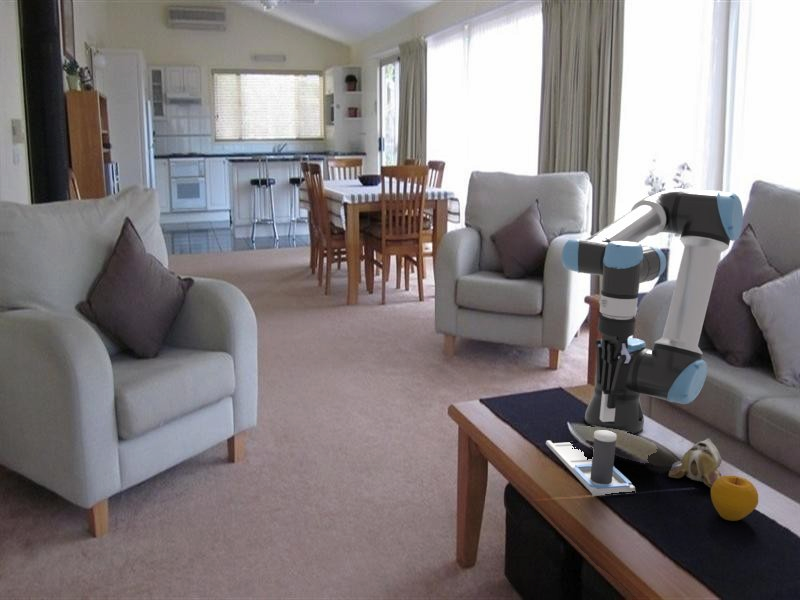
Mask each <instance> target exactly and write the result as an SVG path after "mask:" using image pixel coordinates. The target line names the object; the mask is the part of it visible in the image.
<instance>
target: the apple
mask: <svg viewBox="0 0 800 600" xmlns="http://www.w3.org/2000/svg"><path fill="white" fill-rule="evenodd" d="M710 498H711V502H712V504H713V507H714V509H715V510H716V511H717V513H718V514H719V516H720V517H721V518H722V519H724V520H726V521H730V522H735V521H740V520H743V519H744V518H745V517H747V516H749V514H751V513H753V512H754V510H755V509H756V508H757V506H758V504H759V493H758V490H757V488H756V487H755V485H754V484H753V483H752V482H751V481H750V480H748V479H747V478H744V477H742V476H737V475H724V476H721V477H720V478H718V479H717V480H716V481H715V482H714V483H713V486H712V488H710Z"/></svg>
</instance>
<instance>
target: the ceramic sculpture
mask: <svg viewBox="0 0 800 600" xmlns="http://www.w3.org/2000/svg"><path fill="white" fill-rule="evenodd" d="M722 459H723V458H722V457H721V454H720V452H719V450H718V448H717V447H716V445H715V444H714V443H713V442H712V440H711V438H709V437H708V438H706V439H703V440H701V441H699V442H698V441H697V443H695V444H694V445H692V447H690V448H689V449H688V450H687V451H686V452H685V453H684V455H683V457H682V458H681V460H680V461H681V463H682V465H681V466H679V467H678V468H676V469H674V470H673V471H670V470H669V471H668V477H669V478H673V479H681V478H684V476H686V477H687V478H688V479H689V478H690V480H693V481H695V482H699V481H700V482H701V483H702V482H703V484H704V485H706V486H707V487H708V488H710V489H711V488H712V486H713V483H714V482H715V481H716V480H717V479H718V478H720V477H722V474H721V472H720V470H718V469H719V468H720V466H721V464H722V461H723V460H722Z"/></svg>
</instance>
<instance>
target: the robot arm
mask: <svg viewBox="0 0 800 600" xmlns="http://www.w3.org/2000/svg"><path fill="white" fill-rule="evenodd" d="M743 212H744V211H743V205H742V201H741V198H740V196H738V195H737V194H735V193H734V192H726V191H721V190H717V191H716V190H705V189H704V190H702V189H701V190H700V189H689V188H672V189H671V188H669V189H667V190H666V189H665V190H662V191H659V192H657V193H653V194H650V195H649V196H646V197H644V198H642V199H641V200H639V201H638V202H636V203H635V204H634V205H633V206H632V208H631V210H630V211H629V212H628V213H626V214H625V215H623V216H621V217H619V218H618V219H615V220H614V221H613V222H612V223H610V224H608V225H607V226H605V227H604V228H602V229H600V230H599V231H597V232H596V233H595V234H594V233H593V235H591V236H590V237H587V238H586V239H581V238H570V239H568V240H567V241H566V242H565V243H564V245H563V247H562V252H561V262H562V265H563V267H564V268H565V270H568V271H573V272H575V273H578V274H588V275H594V276H595V275H596V276H602V278H601V279H602V281H601V290H600V300H599V301H598V305H599V312H600V314H599V315H598V320H597V321H598V322H597V332H598V333H600V334H601V338H600V339H595V341H594V343H595V350H596V365H595V367H596V368H595V377H594V389H593V390H594V391H593V394H592V397H591V399H590V401H589V403H588V405H587V408H586V410H585V414H584V415H585V416H584V420H585V423H586V424H588V425H589V424H591V425H596V426H601V427H606V428H613V429H619V430H625V431H629V432H633V434H637V433H639V432H641V431H642V430H644V426H645V425H644V423H645V417H644V414H643V410H642V405H641V404H642V403H641V399H640V396H641V395H645V396H649V397H653V398H656V399H661V400H664V401H667V402H670V403H678V404H682V405H686V404H690V403H692V402H693V401H694V400H695V399H696V398H697V397H698V396H699V395H700V393H701V390H702V389H703V387H704V384H705V381H706V380H707V379H706V378H707V371H708V365H707V362H706V361H704V360H703V359H702V357H703V351H702V350H701V348H700V347H699V342H700V338H701V334H702V330H703V325H704V321H705V317H706V313H707V309H708V306H709V301H710V297H711V293H712V289H713V285H714V281H715V277H716V272H717V270H718V266H719V265H718V264H719V260H720V255H721V254H722V253H723V252H724V251H726V250H729V247H730V243H731V241H732V242H734V241H737V240H739V239H740V235H741V234H742V230H743V222H744V213H743ZM660 233H668V234H678V235H680V239H679V240H680V242H681V243H682V245H683V247H684V248H683V253H682V257H681V261H680V264H679V268H678V273H677V277H676V280H675V284H674V285H675V286H674V289H673V293H672V297H671V301H670V303H669V304H670V305H669V309H668V312H667V317H666V321H665V325H664V329H663V334H662V337H660V338H659V339H657V340H656V341H655V342H654V343H653V348H652V349H650V348H647V347H646V346H647V345H646V341H644V340H642V339H640V338H636V337H635V338H634V337H632V336H633V335H634V334H635V329H636V321H637V320H636V318H635V316H637V311H638V309H637V308H638V302H639V300H638V299H639V290H640V284H641V283H646V282H652V281H654V280H656V279H657V278H659V277H661V276H662V274H664V272H665V270H666V267H667V259H666V255H665V253H664V252H663V251H662V249H660V248H658V247H656V246H653V245H649V246H648V245H642V244H640V242H641V241H643V240H645V239H646V238H647V237H648V236H650V237H651V236H657V235H658V234H660ZM591 425H590V426H591Z"/></svg>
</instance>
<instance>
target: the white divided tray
mask: <svg viewBox="0 0 800 600" xmlns="http://www.w3.org/2000/svg"><path fill="white" fill-rule="evenodd" d="M570 442H571V441H570ZM570 442H554V443H553V442H552V440H546V441H545V445H546V447H548V448H549V449H550V451H551V452H552V453H553V454H554V455H555V456H556V457H557V458H558V460H560V461H561V462H562V463H563V464H564V466H566V468H567V469H568V470H569V471H570V472H571V473H572V474H573V475H574V476H575V477H576V478H577V480H579V482H580V483H581V484H582V485H583V486H584V487H585V488H586V489H587V490H588V491H589V492H590V493H591V494H590V496H591V497H597V496H606V495H605V494H611V493H619V492H632V491H635V492H636V487H635V485H633V484H632V482H631V481H630V480H629V478H628V477H626V476H625V475H624V474H623V473H622V472H621V471H620V470H618V468H616V467H615V465H613V475H612V482H611V483H609V484H599V483H595V482H593V481H592V480H591V467H592V459H588V460H587V457H585V456H584V452H583V451H582V452H581V450H580V449H579V450H578V449H574V447H573V446H572V445H573V444H571V443H570ZM572 448H573V449H572ZM575 448H576V447H575Z"/></svg>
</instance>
